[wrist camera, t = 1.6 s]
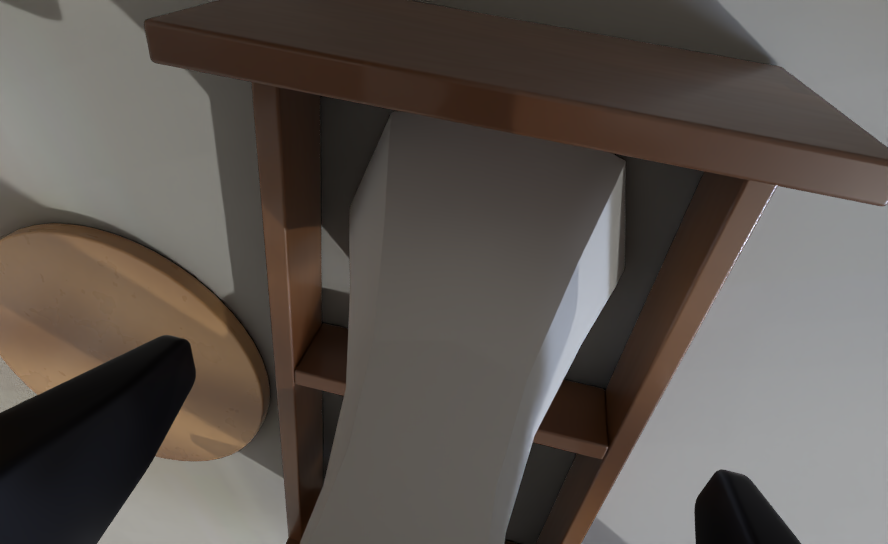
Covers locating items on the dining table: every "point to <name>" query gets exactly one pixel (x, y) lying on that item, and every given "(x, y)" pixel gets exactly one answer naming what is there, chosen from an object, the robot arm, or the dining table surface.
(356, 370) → the flask
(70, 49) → the dining table surface
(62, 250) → the cork trivet
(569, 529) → the rack
